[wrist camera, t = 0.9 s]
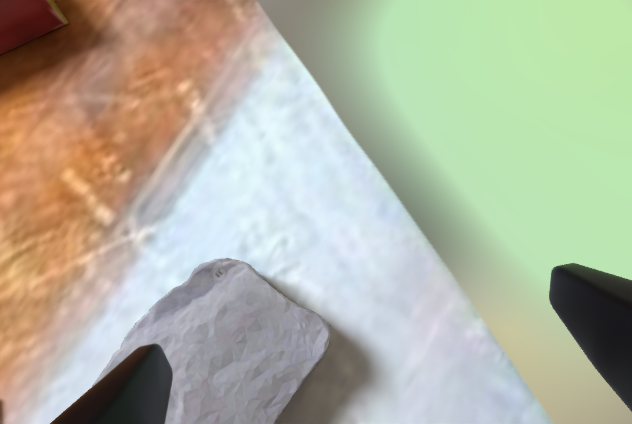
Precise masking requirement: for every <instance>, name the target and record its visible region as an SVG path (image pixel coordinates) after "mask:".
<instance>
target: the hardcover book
mask: <svg viewBox="0 0 632 424" xmlns="http://www.w3.org/2000/svg"><path fill="white" fill-rule="evenodd" d="M68 23H69V22H68V20H67V19H66V18H65V16H64V15H63V13H62V12H61V11H60V9H59V8H58V6H57V5H56V4H55V2H54V1H53V0H0V55H1V54H3V53H5V52H7V51H9V50H11V49H14V48H16V47H18V46H20V45H22V44H25V43H27V42H29V41H31V40H33V39H35V38H38V37H40V36H42V35H44V34H46V33H48V32H51V31H53V30H55V29H57V28H59V27H61V26H64V25H66V24H68Z"/></svg>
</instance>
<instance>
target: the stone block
mask: <svg viewBox="0 0 632 424" xmlns="http://www.w3.org/2000/svg"><path fill="white" fill-rule="evenodd" d="M154 343H156V344H159V345H160V346H161V347H162V349H163V351H164V353H165V355H166V357H167V359H168V361H169V364H170V366H171V368H172V371H173V381H172V387H171V392H170V398H169V404H168V409H167V415H166V420H165V424H275V422H276V420H277V419H278V417H279V416H280V414H281V412H282V411H283V409H284V408H285V407H286V405H287V404H288V402H289V401H290V399H291V398H292V397H293V395H294V394H295V392H296V391H297V390H298V388H299V387H300V385H301V384H302V382H303V381H304V380H305V378H306V377H307V376H308V375H309V374H310V372H311V371H312V370H313V369H314V367H315V366H316V365H317V363H318V362H319V360H320V359H321V357H322V356H323V354H324V353H325V351H326V349H327V347H328V345H329V343H330V325H329V324H328V323H327V321H325V320H324V319H322V318H321V317H320V316H319V315H318V314H316V313H315V312H313V311H310V310H306V309H303V308H301V307H299V306H298V305H297V304H296V303H294V302H293V301H290V300H289V299H287V297H285V296H284V295H282V294H281V293H280V292H278V291H277V290H275V289H274V288H273V287H271V286H270V285H269V284H268V283H267V282H266V281H265V280H264V279H262V278H261V277H260V276H259V275H258V274H257V272H256V271H255V270H254V269H253V268H252V266H251V265H249V264H247V263H245V262H242V261H239V260H234V259H229V258H225V259H214V260H212V261H210V262H206V263H202V264H200V265H199V266H198V267H196V268H195V269H194V271H193V273H192V274H191V276H190V277H189V279H188V280H187V281H186V282H184V283H183V284H182V285H180V286H178V287H176V288H174V289H172V290H171V291H170V292H168V293H167V294H166V295H165V296H164V297H163V298H161V299H160V300H159V301H158V302H157V303H156V304H155V305H154V306H153V307H152V308H151V309H150V310H149V312H148V313H147V314H145V315H144V316H143V317H142V318H141V319H140V320H139V321H138V322H137V323H135V325H134V326H133V328H132V329H131V330H130V331H129V333H128V334H127V336H126V337H125V339H124V341H123V343H122V345H121V348H120V349H119V350H117V351H116V352H115V353H114V354H113V356H112V358H111V360H110V361H109V363H108V364H107V366H106V368H105V369H104V370H103V371H102V373H101V374H100V376H99V377H98V379H97V380H96V381H95V383H94V385H95V384H96V383H97V382H99V381H100V380H101V379H102V378H103V377H104V376H106V375H107V374H108V373H109V372H110V371H111V370H112V369H114V368H115V367H116V366H117V365H118V364H119V363H121V362H122V361H123V360H124V359H125V358H126V357H127V356H129V355H130V354H131V353H132V352H133V351H134V350H135V349H137V348H138V347H140V346H143V345H148V344H154ZM94 385H93V386H94ZM93 386H92V387H93Z"/></svg>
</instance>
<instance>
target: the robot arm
mask: <svg viewBox="0 0 632 424" xmlns="http://www.w3.org/2000/svg"><path fill="white" fill-rule="evenodd" d="M549 299H550V303H551V305H552V307H553V309H554V310H555V311H556V313H557V314H558V316H559V317H560V319H561V320H562V321H563V323H564V324H565V326H566V327H567V329H568V330H569V331H570V333H571V334H572V336H573V337H574V339H575V340H576V342H577V343H578V344H579V346H580V347H581V349H582V350H583V352H584V353H585V354H586V355H587V357H588V359H589V360H590V361H591V363H592V364H593V365H594V367H595V368H596V369H597V371H598V372H599V373H600V374H601V376H602V377H603V378H604V379H605V380H606V382H607V383H608V384H609V385H610V386H611V387H612V389H613V390H614V391H615V392H616V394H617V395H618V396H619V397H620V398H621V400H622V401H623V402H624V403H625V404H626V405H627V407H628V408H629V409H630V410H631V411H632V280H628V279H625V278H622V277H619V276H615V275H612V274H609V273H605V272H602V271H599V270H595V269H592V268H588V267H585V266H582V265H579V264H575V263H571V264H565V265H561V266H556V267H554V268H553V270H552V273H551V282H550V292H549ZM172 381H173V371H172V368H171V366H170V364H169V361H168V359H167V357H166V355H165V353H164V351H163V349H162V347H161V346H160V345H159V344H156V343H154V344H148V345H143V346H140V347H138V348H137V349H135V350H134V351H133V352H132V353H131V354H130V355H129V356H127V357H126V358H125V359H124V360H123V361H122V362H121V363H119V364H118V365H117V366H116V367H115V368H114V369H112V370H111V371H110V372H109V373H108V374H107V375H106V376H104V377H103V378H102V379H101V380H100V381H99V382H97V383H96V384H95V385H94V386H93V387H92V388H91V389H89V390H88V391H87V392H86V393H85V394H84V395H82V396H81V397H80V398H79V399H78V400H77V401H76V402H74V403H73V404H72V405H71V406H70V407H69V408H67V409H66V410H65V411H64V412H63V413H62V414H61V415H59V416H58V417H57V418H56V419H55V420H54V421H52V422H51V423H50V424H165V420H166V415H167V409H168V404H169V398H170V392H171V387H172Z"/></svg>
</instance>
